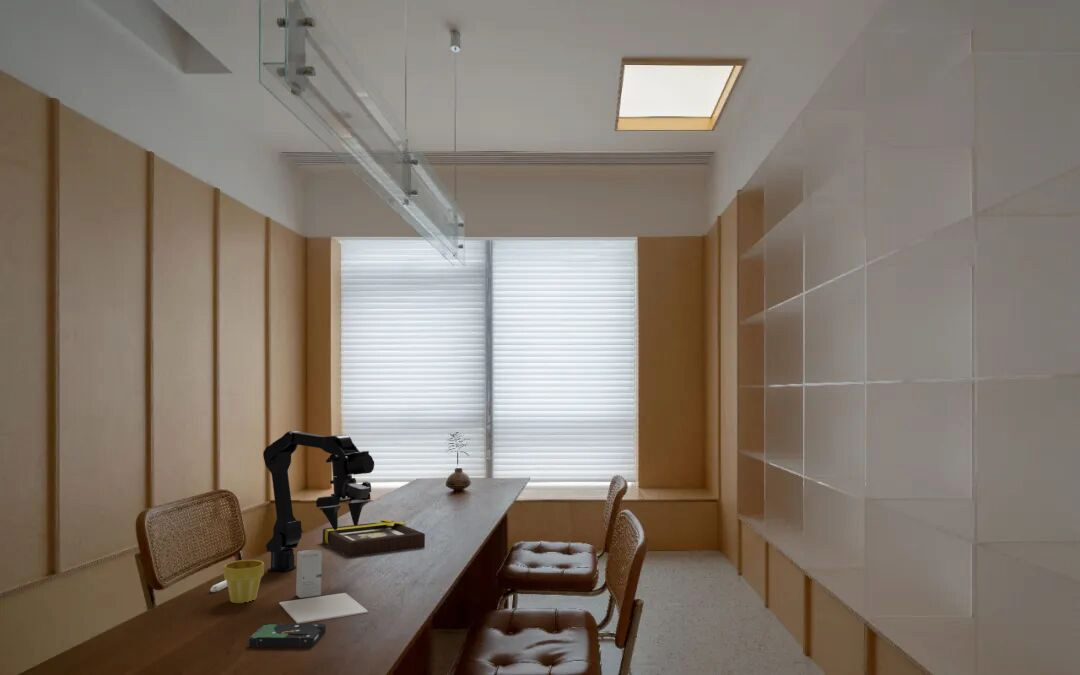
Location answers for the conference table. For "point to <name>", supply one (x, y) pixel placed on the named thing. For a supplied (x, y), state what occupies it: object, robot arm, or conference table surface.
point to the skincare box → (309, 573)
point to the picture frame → (373, 538)
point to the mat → (322, 608)
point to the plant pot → (243, 579)
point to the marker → (219, 586)
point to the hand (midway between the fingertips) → (345, 527)
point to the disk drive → (287, 635)
